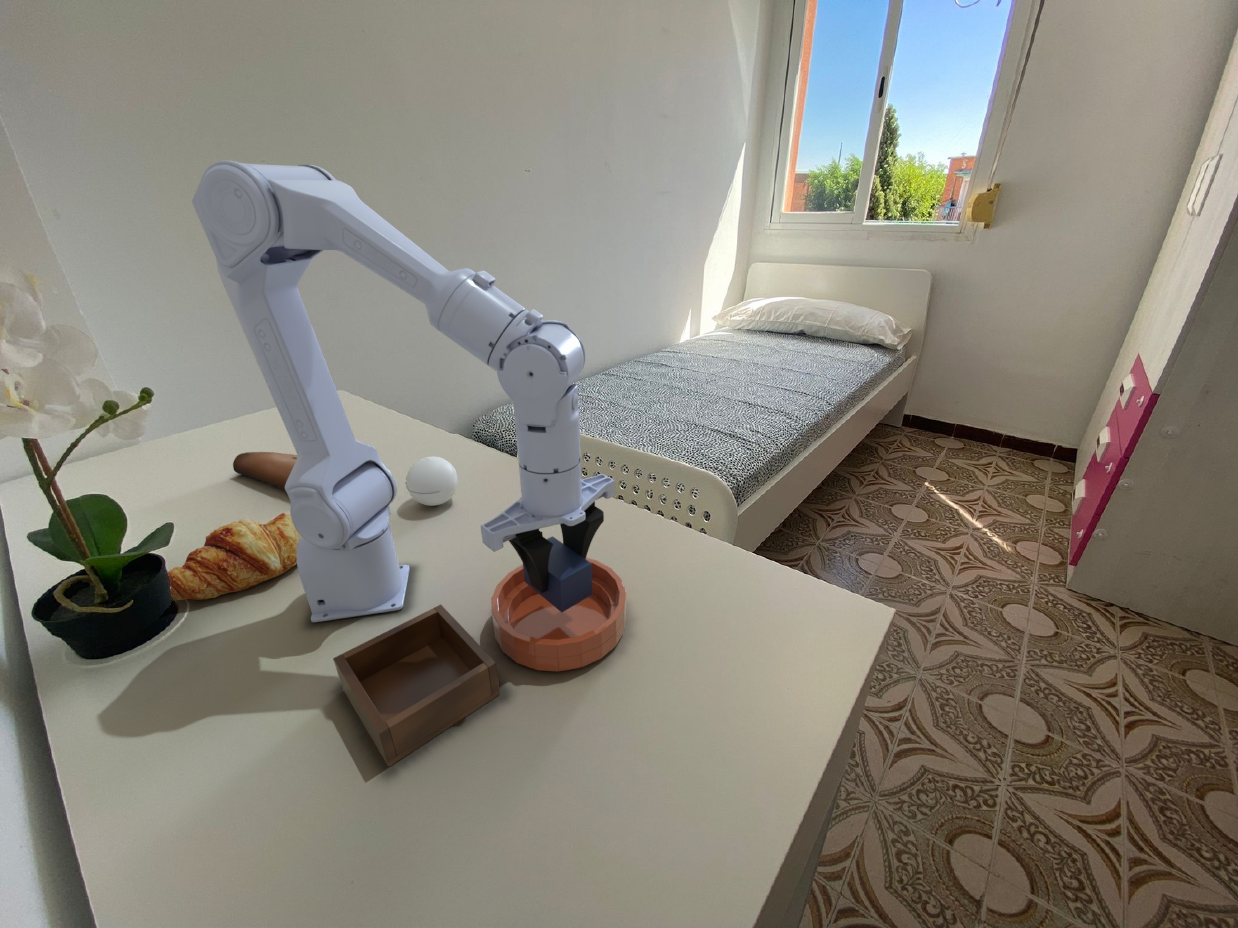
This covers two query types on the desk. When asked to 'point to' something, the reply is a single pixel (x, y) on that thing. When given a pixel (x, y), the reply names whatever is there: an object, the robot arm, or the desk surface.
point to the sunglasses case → (266, 466)
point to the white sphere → (431, 481)
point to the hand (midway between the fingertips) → (556, 577)
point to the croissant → (236, 558)
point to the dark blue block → (565, 577)
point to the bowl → (558, 622)
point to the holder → (416, 681)
